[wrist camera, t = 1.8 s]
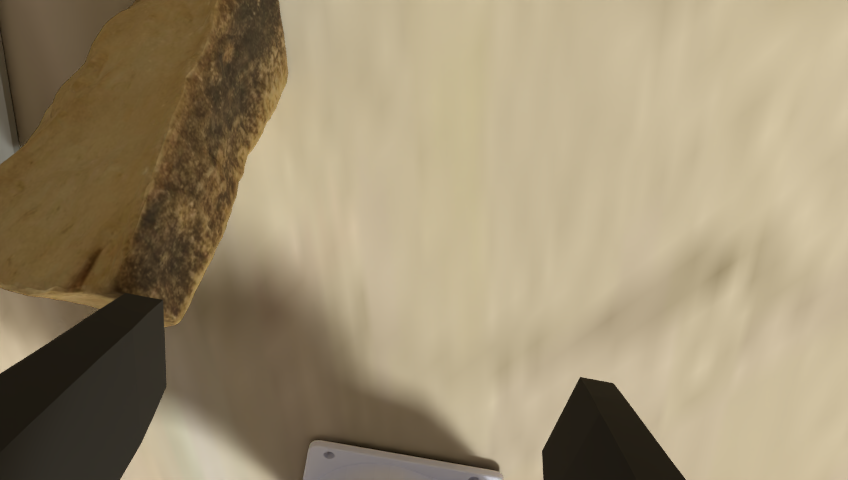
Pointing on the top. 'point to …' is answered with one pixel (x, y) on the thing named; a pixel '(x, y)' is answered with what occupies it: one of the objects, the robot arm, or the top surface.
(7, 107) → the mat
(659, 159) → the top surface
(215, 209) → the rock
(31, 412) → the robot arm
